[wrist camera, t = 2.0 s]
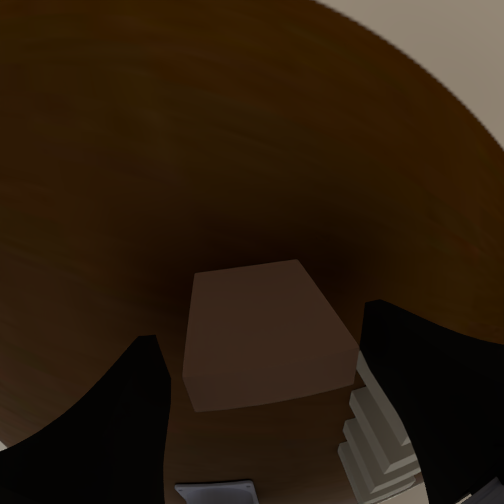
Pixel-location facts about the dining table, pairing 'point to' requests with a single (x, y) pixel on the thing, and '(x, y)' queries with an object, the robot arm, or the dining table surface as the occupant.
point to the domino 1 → (263, 338)
